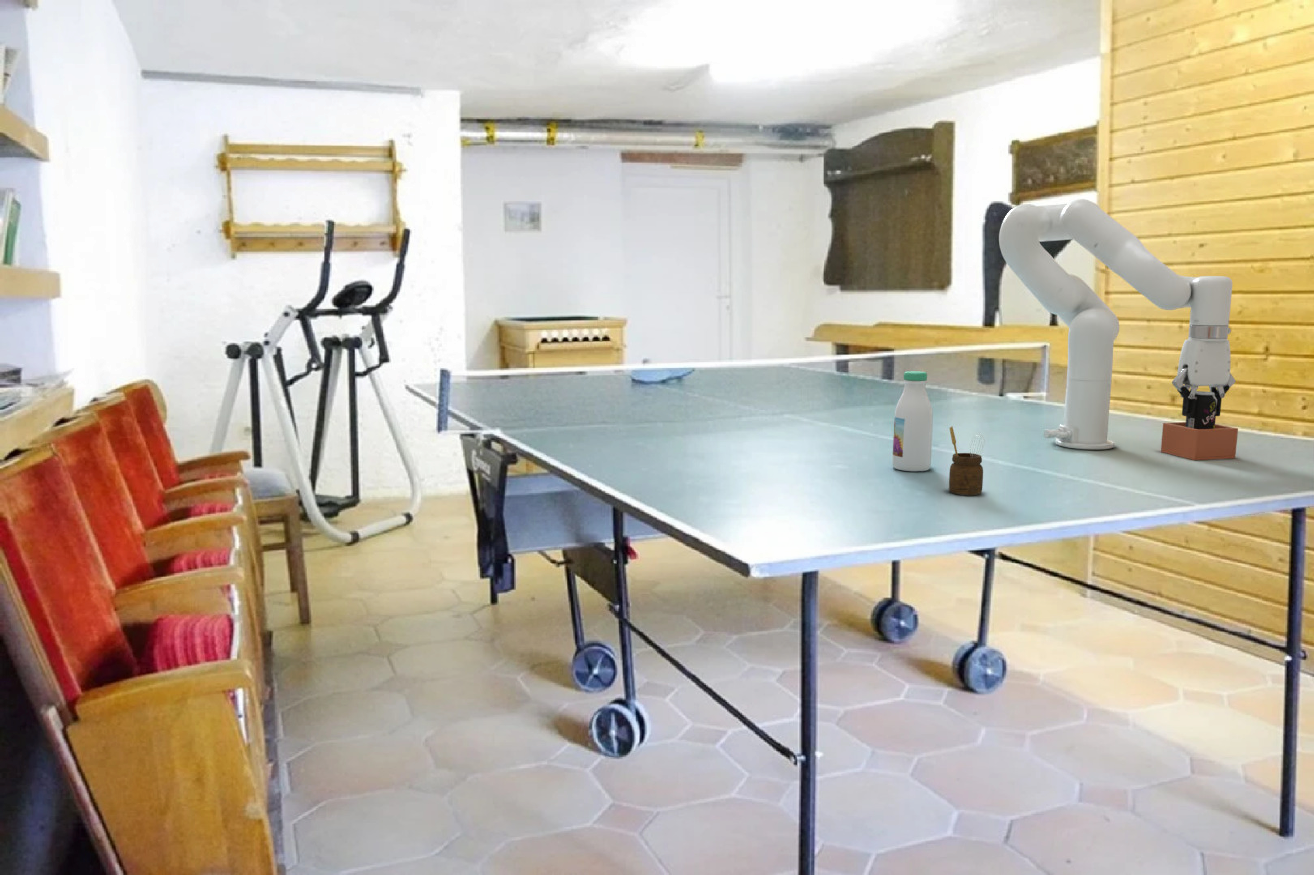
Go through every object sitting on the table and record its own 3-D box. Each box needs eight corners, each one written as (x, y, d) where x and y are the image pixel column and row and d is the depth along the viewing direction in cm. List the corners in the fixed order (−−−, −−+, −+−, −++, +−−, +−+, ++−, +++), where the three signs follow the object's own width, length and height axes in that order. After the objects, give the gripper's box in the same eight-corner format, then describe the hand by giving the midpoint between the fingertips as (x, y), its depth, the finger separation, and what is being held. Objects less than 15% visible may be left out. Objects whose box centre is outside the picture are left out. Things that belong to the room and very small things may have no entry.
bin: (1194, 460, 218) (1197, 430, 217) (1160, 451, 228) (1163, 422, 227) (1235, 458, 220) (1238, 428, 219) (1200, 449, 230) (1202, 421, 229)
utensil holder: (977, 497, 183) (981, 431, 181) (942, 493, 186) (945, 428, 184) (986, 491, 188) (989, 427, 186) (952, 487, 191) (955, 424, 189)
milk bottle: (933, 466, 211) (938, 371, 208) (926, 473, 204) (931, 374, 201) (896, 463, 214) (900, 369, 211) (888, 470, 207) (892, 372, 204)
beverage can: (1213, 445, 225) (1218, 391, 223) (1211, 449, 220) (1216, 394, 218) (1185, 443, 228) (1189, 390, 226) (1182, 446, 223) (1187, 392, 221)
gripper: (1228, 331, 225) (1221, 412, 228) (1161, 333, 222) (1155, 414, 225) (1255, 334, 218) (1247, 417, 221) (1186, 335, 214) (1179, 419, 217)
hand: (1200, 415), depth 223 cm, fingers closed on beverage can, 5 cm apart
